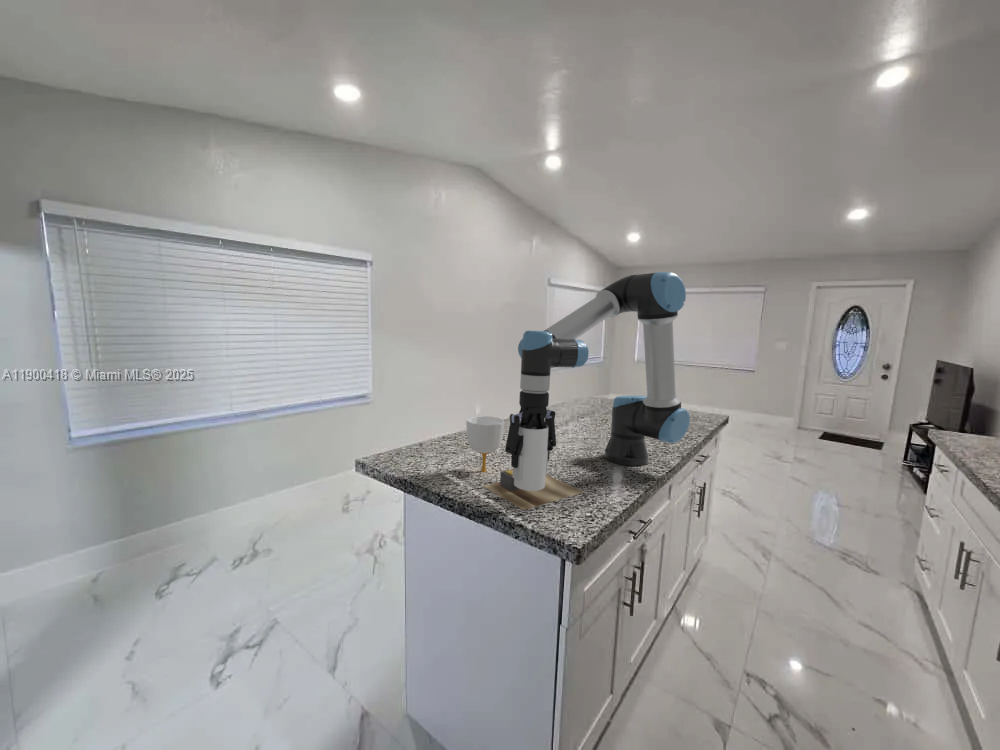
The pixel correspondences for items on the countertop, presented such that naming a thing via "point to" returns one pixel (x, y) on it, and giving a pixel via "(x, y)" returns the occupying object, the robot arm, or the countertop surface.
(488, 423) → the cup
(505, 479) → the dark grey box
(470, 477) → the countertop surface
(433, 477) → the countertop surface
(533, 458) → the cup
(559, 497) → the panel
